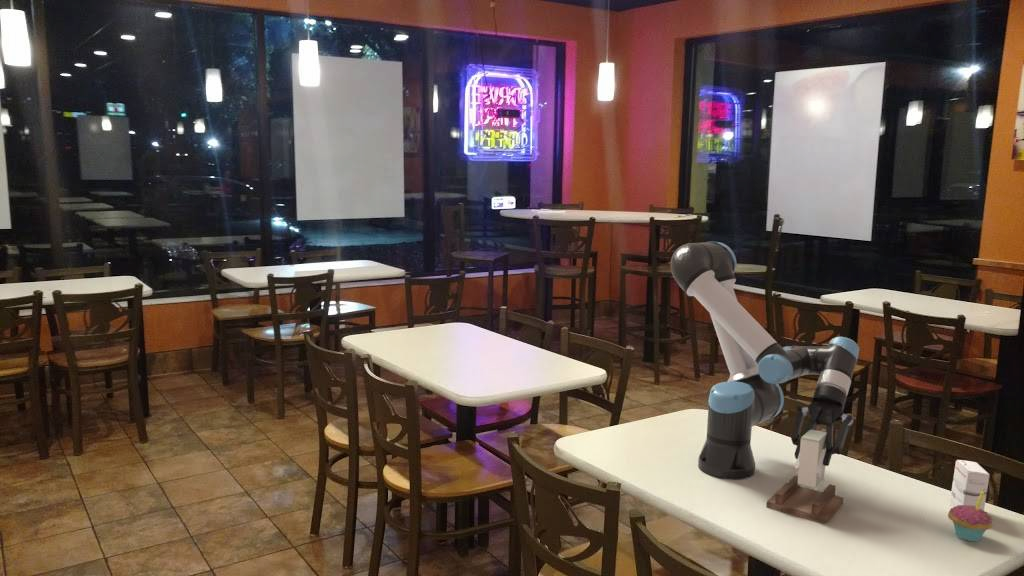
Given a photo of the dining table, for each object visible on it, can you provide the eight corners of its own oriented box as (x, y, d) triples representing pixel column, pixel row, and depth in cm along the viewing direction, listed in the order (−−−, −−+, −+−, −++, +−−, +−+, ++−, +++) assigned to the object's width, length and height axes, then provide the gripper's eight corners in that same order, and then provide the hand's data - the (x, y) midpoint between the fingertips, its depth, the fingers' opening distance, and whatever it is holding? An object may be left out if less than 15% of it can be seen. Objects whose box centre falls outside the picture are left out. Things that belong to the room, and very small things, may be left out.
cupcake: (987, 533, 175) (993, 483, 173) (992, 549, 167) (999, 497, 165) (944, 525, 178) (950, 476, 177) (947, 540, 171) (953, 489, 169)
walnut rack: (766, 507, 186) (767, 491, 185) (785, 488, 197) (787, 473, 197) (826, 523, 177) (827, 507, 177) (842, 503, 189) (844, 487, 189)
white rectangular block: (984, 521, 181) (990, 473, 179) (961, 519, 182) (967, 471, 180) (970, 506, 190) (976, 460, 188) (948, 504, 191) (953, 458, 189)
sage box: (797, 485, 184) (800, 437, 182) (807, 475, 190) (810, 428, 189) (814, 489, 181) (818, 440, 180) (824, 479, 188) (828, 432, 186)
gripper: (869, 406, 191) (847, 489, 180) (799, 393, 201) (774, 472, 190) (866, 390, 186) (843, 474, 175) (794, 378, 196) (768, 457, 185)
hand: (807, 473), depth 182 cm, fingers closed on sage box, 4 cm apart
